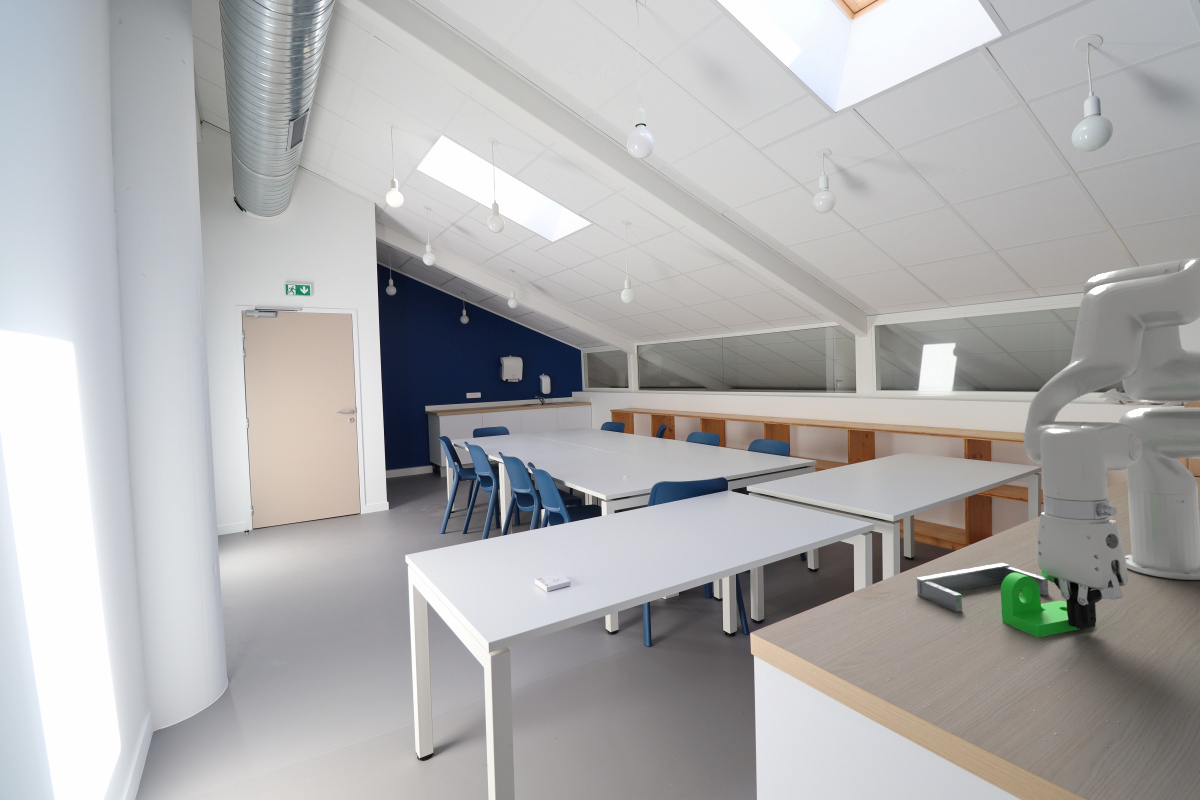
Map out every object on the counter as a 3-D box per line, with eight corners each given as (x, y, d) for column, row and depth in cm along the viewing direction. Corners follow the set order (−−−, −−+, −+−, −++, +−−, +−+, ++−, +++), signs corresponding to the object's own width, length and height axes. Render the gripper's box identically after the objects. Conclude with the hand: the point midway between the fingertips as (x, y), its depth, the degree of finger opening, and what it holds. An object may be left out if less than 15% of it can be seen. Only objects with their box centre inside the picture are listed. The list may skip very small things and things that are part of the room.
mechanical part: (1038, 638, 84) (1034, 587, 84) (1002, 622, 90) (999, 574, 90) (1100, 626, 87) (1097, 576, 87) (1061, 611, 93) (1058, 565, 93)
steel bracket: (1003, 579, 108) (1002, 562, 108) (1048, 594, 99) (1047, 576, 99) (917, 594, 103) (916, 577, 103) (956, 612, 95) (955, 593, 95)
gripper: (1152, 515, 77) (1159, 643, 78) (1045, 496, 92) (1051, 604, 92) (1111, 521, 76) (1119, 652, 76) (1009, 502, 90) (1015, 611, 91)
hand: (1082, 626), depth 84 cm, fingers closed
